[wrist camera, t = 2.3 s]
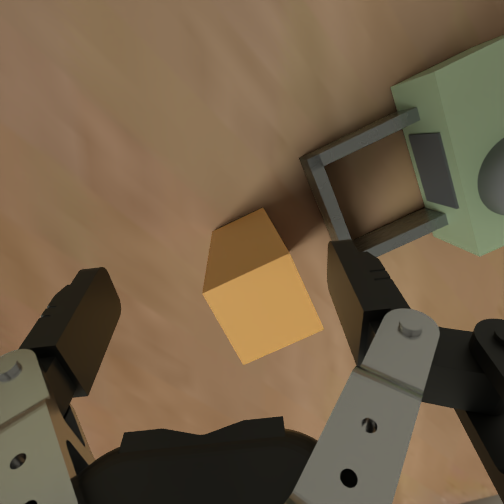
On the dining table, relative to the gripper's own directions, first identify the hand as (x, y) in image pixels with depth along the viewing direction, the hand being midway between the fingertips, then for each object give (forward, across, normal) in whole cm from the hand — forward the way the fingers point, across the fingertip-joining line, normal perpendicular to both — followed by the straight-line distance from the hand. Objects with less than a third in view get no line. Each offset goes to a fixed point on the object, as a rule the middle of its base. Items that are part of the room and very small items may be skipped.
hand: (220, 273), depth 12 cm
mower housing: (+18, +19, -3) cm, 27 cm away
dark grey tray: (+18, +12, -5) cm, 22 cm away
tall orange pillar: (+16, +1, -9) cm, 18 cm away
